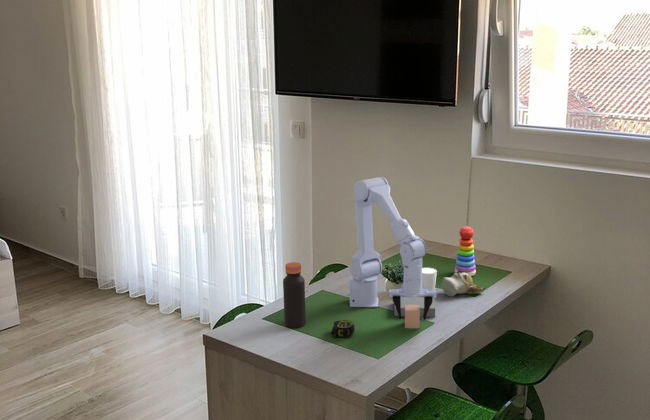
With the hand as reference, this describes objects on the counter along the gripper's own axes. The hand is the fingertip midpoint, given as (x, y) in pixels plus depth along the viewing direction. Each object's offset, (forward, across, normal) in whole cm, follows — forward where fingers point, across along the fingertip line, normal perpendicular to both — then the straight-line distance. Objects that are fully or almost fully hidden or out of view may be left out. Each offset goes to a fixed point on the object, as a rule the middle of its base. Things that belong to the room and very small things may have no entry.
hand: (412, 318), depth 218 cm
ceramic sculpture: (+3, +17, +28) cm, 33 cm away
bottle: (+2, -37, -1) cm, 37 cm away
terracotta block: (+2, 0, 0) cm, 2 cm away
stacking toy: (+2, +21, +47) cm, 52 cm away
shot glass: (+2, +6, +31) cm, 32 cm away
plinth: (+2, +1, +12) cm, 12 cm away
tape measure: (+3, -22, -8) cm, 23 cm away
